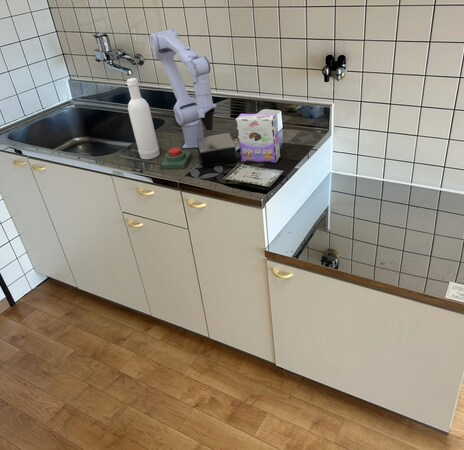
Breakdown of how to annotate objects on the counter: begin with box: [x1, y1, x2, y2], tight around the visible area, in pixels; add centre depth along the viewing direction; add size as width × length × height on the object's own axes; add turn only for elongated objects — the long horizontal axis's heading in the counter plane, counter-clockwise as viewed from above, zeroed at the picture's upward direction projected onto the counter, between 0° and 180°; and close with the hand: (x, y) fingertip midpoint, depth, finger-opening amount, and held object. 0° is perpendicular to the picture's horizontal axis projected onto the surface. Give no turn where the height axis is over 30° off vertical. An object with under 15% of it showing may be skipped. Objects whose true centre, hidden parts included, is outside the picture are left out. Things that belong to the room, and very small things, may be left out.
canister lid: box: [196, 132, 236, 153], centre depth 172 cm, size 13×13×1 cm
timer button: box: [168, 147, 182, 157], centre depth 175 cm, size 4×4×2 cm
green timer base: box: [160, 148, 192, 170], centre depth 176 cm, size 11×9×4 cm
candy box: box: [235, 113, 281, 164], centre depth 167 cm, size 14×6×16 cm, turn 71°
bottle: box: [126, 77, 161, 160], centre depth 177 cm, size 8×8×30 cm
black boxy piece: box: [196, 140, 238, 170], centre depth 174 cm, size 12×13×6 cm
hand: (209, 129), depth 173 cm, fingers closed
